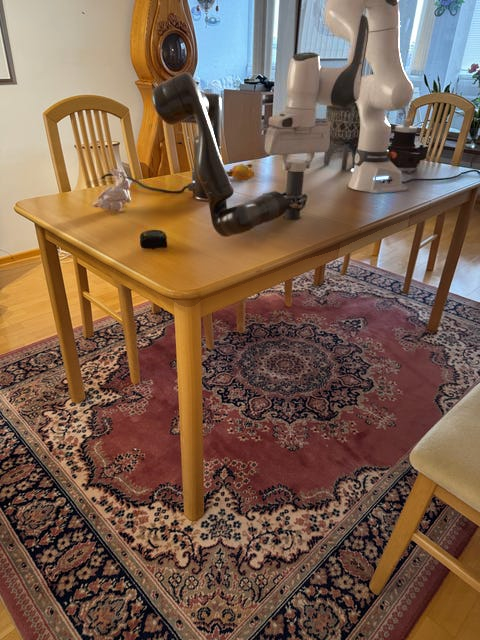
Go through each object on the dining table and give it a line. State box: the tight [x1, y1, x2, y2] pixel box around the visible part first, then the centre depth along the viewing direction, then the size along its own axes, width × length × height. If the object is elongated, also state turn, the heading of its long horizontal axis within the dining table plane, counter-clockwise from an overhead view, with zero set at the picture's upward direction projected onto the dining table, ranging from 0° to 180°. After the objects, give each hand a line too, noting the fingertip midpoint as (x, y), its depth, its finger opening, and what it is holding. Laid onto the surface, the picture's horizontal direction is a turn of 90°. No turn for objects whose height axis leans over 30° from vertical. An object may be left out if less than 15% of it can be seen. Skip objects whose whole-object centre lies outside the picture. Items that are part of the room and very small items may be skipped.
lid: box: [286, 158, 307, 172], centre depth 135 cm, size 6×6×2 cm
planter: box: [323, 102, 360, 172], centre depth 204 cm, size 20×20×26 cm
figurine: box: [92, 167, 133, 213], centre depth 142 cm, size 8×15×13 cm, turn 145°
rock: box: [333, 147, 351, 154], centre depth 243 cm, size 13×9×6 cm, turn 131°
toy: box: [226, 163, 256, 182], centre depth 185 cm, size 11×6×15 cm
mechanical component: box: [388, 119, 430, 174], centre depth 205 cm, size 22×21×30 cm
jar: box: [283, 170, 305, 221], centre depth 139 cm, size 5×5×16 cm
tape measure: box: [139, 229, 168, 250], centre depth 117 cm, size 7×7×4 cm
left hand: (297, 195), depth 142 cm, fingers closed on jar, 5 cm apart
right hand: (295, 169), depth 136 cm, fingers closed on lid, 6 cm apart
